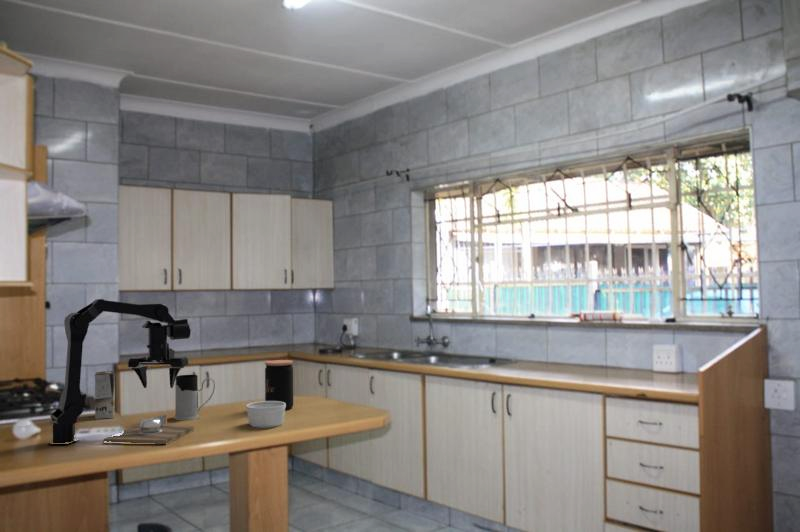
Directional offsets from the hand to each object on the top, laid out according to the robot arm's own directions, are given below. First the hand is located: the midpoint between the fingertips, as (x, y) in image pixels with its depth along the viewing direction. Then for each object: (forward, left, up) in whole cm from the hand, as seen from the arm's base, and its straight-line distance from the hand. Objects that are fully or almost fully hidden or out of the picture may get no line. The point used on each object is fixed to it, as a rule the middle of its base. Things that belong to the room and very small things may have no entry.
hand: (158, 387), depth 229 cm
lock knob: (-8, -3, -12) cm, 14 cm away
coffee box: (+19, +30, -14) cm, 38 cm away
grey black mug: (+20, -4, -14) cm, 25 cm away
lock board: (-11, -3, -14) cm, 18 cm away
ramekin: (+10, -34, -14) cm, 38 cm away
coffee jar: (+38, -30, -14) cm, 50 cm away
